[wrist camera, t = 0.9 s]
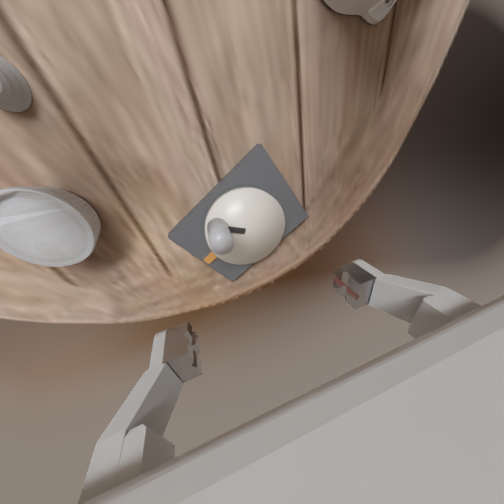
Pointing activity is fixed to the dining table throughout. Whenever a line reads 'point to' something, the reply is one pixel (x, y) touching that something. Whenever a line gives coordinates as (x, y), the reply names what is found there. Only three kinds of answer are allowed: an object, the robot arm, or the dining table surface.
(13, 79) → the chalice
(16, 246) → the ramekin
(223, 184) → the dial board
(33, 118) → the dining table surface
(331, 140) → the dining table surface
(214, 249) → the dial
